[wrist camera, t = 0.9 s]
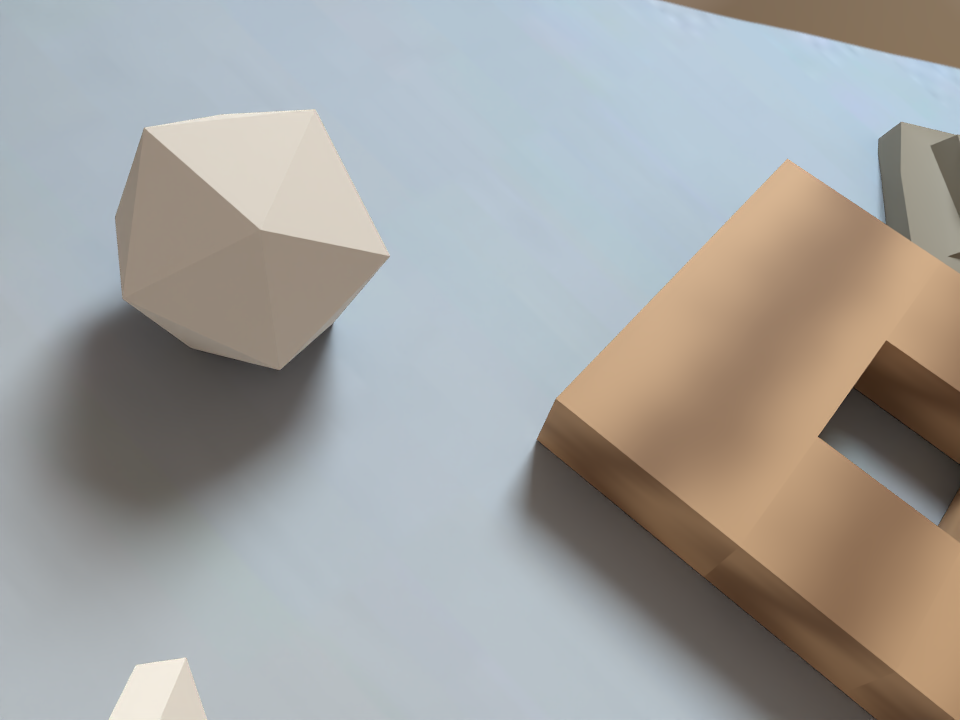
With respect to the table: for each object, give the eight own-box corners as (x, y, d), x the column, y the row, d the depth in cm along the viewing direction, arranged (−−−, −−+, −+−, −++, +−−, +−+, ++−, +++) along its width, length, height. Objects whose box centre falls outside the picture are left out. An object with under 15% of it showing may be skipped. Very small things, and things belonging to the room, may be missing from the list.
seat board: (536, 439, 31) (556, 398, 29) (757, 207, 39) (787, 158, 37) (1050, 862, 27) (1127, 858, 24) (1185, 501, 34) (1254, 469, 32)
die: (354, 212, 36) (193, 17, 30) (475, 281, 30) (306, 54, 24) (211, 358, 35) (10, 188, 28) (307, 460, 29) (78, 274, 22)
